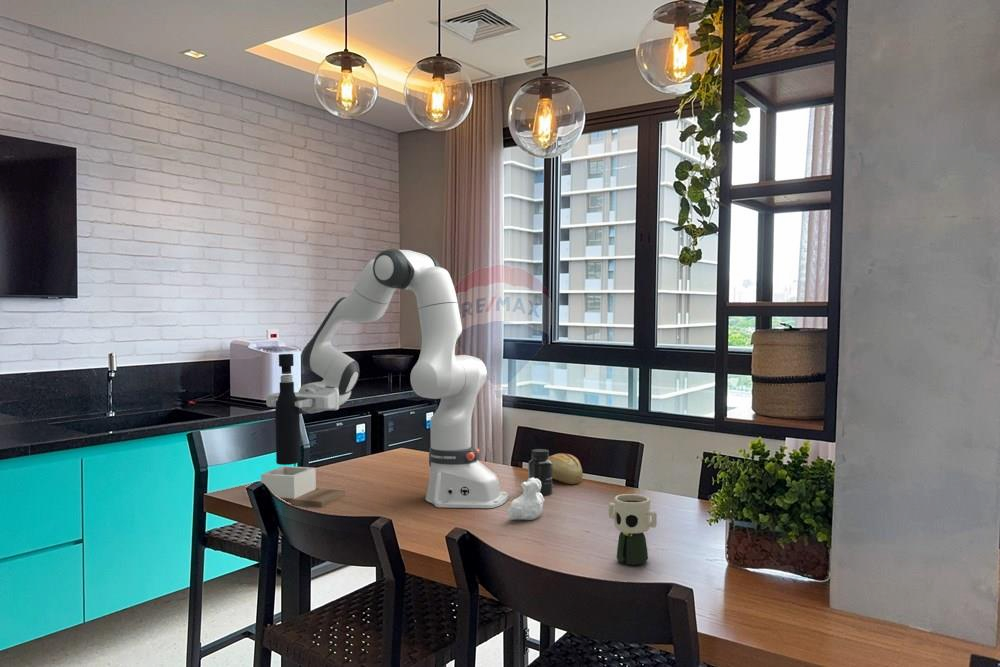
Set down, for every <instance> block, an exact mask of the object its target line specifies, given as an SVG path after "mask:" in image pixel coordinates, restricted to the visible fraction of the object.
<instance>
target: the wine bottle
mask: <svg viewBox="0 0 1000 667" xmlns="http://www.w3.org/2000/svg"><path fill="white" fill-rule="evenodd" d="M294 364H295V363H294V354H293V353H282V354H280V353H279V354H278V366H279V367H281V374H282V375H280V378H279V379H280V382H279V392H278V393H279V396H278V400H277V403H276V407H275V411H274V413H275V414H274V417H275V419H274V420H275V421H274V422H275V426H274V427H275V454H276V455H275V457H276V458H275V461H276V462H275V463H276V464H277V465H282V466H290V465H296V464H298V463H301V431H300V430H301V428H300V426H301V425H300V423H301V422H300V408H295V401H297V398H296V396H295V393H294V392H295V382H294V381H293V380H294V379H293V378H294V377H293V374H292V367H293V366H294Z"/></svg>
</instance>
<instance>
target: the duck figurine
mask: <svg viewBox="0 0 1000 667" xmlns="http://www.w3.org/2000/svg"><path fill="white" fill-rule="evenodd" d="M520 487H521V488H522V490H523V492H522V494H520V495H519V497H517V498H514V499H513V500H512V501H511V503H510V505H509V507H508V509H507V514H508V518H509V520H512V521H516V520H517V521H519V520H520V521H522V520H525V521H532V520H535V519H537V518H539V517H540V515H541V513H542V512H543V506H544V502H545V498H544V495H542V494H541V493H539V492H540V490H541V481H540V480H539V479H537V478H536V479H535V478H533V477H532V478H529V479H527V481H523V482H521V484H520Z"/></svg>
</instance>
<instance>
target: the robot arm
mask: <svg viewBox="0 0 1000 667" xmlns="http://www.w3.org/2000/svg"><path fill="white" fill-rule="evenodd" d="M397 289H398V290H399V289H400V290H405V291H412V292H413V294H414V296H415V298H416V304H417V305H416V306H417V312H418V317H419V324H420V325H419V326H420V331H421V347H420V353H419V357H418V360H417V362H416V363H415V365H414V366H413V368H412V369H411V372H410V377H409V378H410V379H409V380H410V385H411V388H412V390H413V391H414V393H415V394H416V395H417V396H419V397H421V398H425V399H426V398H427V399H434V400H436V399H437V400H439V399H440V402H439V405H438V408H437V409H436V411H435V412H434V413H433V415H431V418H430V422H429V423H430V427H429V428H430V429H429V430H430V447H429V448H428V449H429V450H428V461H429V462H428V463H429V465H428V466H429V468H430V469H429V480H428V488H427V490H426V496H425V501H427V502H428V503H431V504H432V505H434V507H435V508H456V509H458V508H461V509H463V508H464V509H492V508H493V509H494V508H496V507H499V506H501V505H503V504H505V503H506V502H507V501H508V499H509V494H508V492H506V491H504V490H503V491H501V487H500V482H499V478H498V476H497V474H496V473H495V472H493V471H492V470H491V469H489V468H488V467H487V466H485V465H484V464H483V463H482V462H481V461H480V460H479V454H480V448H478V449H476V448H475V447H473V446H472V420H473V419H472V418H473V411H474V408H475V404H476V400H477V397H478V396H479V392H480V391H481V389H482V388H483V386H484V385H485V383H486V381H487V378H488V370H487V366H486V364H485V362H483V360H482V359H480V358H479V357H475V356H472V355H468V354H460V355H459V354H458V355H456V353H455V352H456V345H457V344H456V343H457V341H458V339H459V337H460V336H461V334H462V332H463V325H462V320H461V313H460V307H459V302H458V297H457V293H456V289H455V286H454V283H453V279H452V277H451V274H450V272H449V271H448V270H447V269H445V268H443V267H441V265H440V262H439V261H438V260H437V259H436V258H435V257H434V256H432V255H431V254H427V253H424V252H423V253H421V252H418V251H413V250H410V249H395V248H391V249H385V250H382V251H380V252H379V253H378V254H377V255H376V256H375V258H373V259H371V260H369V261H368V262H367V264H366V265H365V267H364V269H363V270H362V272H361V274H360V275H359V277H358V279H357V281H356V283H355V285H354V288H353V289H352V291H351V293H350V294H349V295H348V296H344V297H341V298H339V299H337V301H336V302H335V303H334V305H333V306H332V307H331V309H330V310H329V311H328V313H327V314H326V316H325V318H324V319H323V321H322V322H321V323H320V326H319V327H318V329H317V330H316V332H315V333H314V335H313V336H312V337H311V339H310V340H309V341H308V343H306V345H305V347H303V349H302V351H301V354H300V356H301V358H300V359H301V363H302V366H303V367H304V368H305V369H307V370H308V371H310V372H312V373H315V374H316V375H317V376H319V377H321V378H322V380H321V381H315V382H309V383H306V384H303V385H302V386H301V387H299V390H298V392H295V391H294V393H295V396H296V398H297V401H295V408H299V409H301V410H302V411H303V412H304V413H308V414H315V413H321V412H324V411H325V412H326V411H327V412H328V411H338V410H339V409H340V406H342V405H343V404H345V403H346V402H347V401H348V400H349V399H350V397H351V395H352V390H353V389H354V388H355V386H356V385H357V383H358V381H359V378H360V365H359V362H358V361H356V360H355V359H354V358H352V357H350V356H349V355H348V354H346V353H344V352H343V351H341V350H339V349H337V348H336V347H335V346H333V345H332V342H331V341H332V339H333V337H334V336H335V334H336V333H337V331H338V329H339V328H340V327H341V325H342V323H343V322H344V321H349V322H350V321H351V322H355V323H364V324H366V323H367V324H368V323H373V322H376V321H378V320H380V319H381V318H382V317H383V316H384V315H385V313H386V311H387V309H388V307H389V305H390V303H391V301H392V297H393V295H394V293H395V291H396V290H397ZM279 393H280V392H274V393H269V394H266V398H265V400H266V402H265V403H266V406H267V407H268V408H276V403H277V400H278V396H279Z"/></svg>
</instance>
